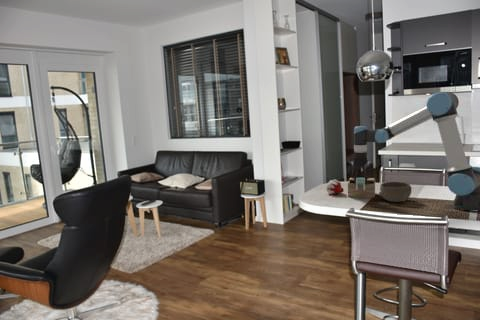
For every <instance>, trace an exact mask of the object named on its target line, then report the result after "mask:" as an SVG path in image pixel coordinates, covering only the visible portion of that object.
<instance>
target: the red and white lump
mask: <svg viewBox="0 0 480 320" xmlns="http://www.w3.org/2000/svg"><path fill="white" fill-rule="evenodd" d="M326 192H327V193H328V194H330V195H338V194H340V193H341V194H342V193H343V192H344V188H343V187H342V183H341V181H339V180H338V179H335V178H334V179H331V180H329V181H328V182H327V184H326Z"/></svg>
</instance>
